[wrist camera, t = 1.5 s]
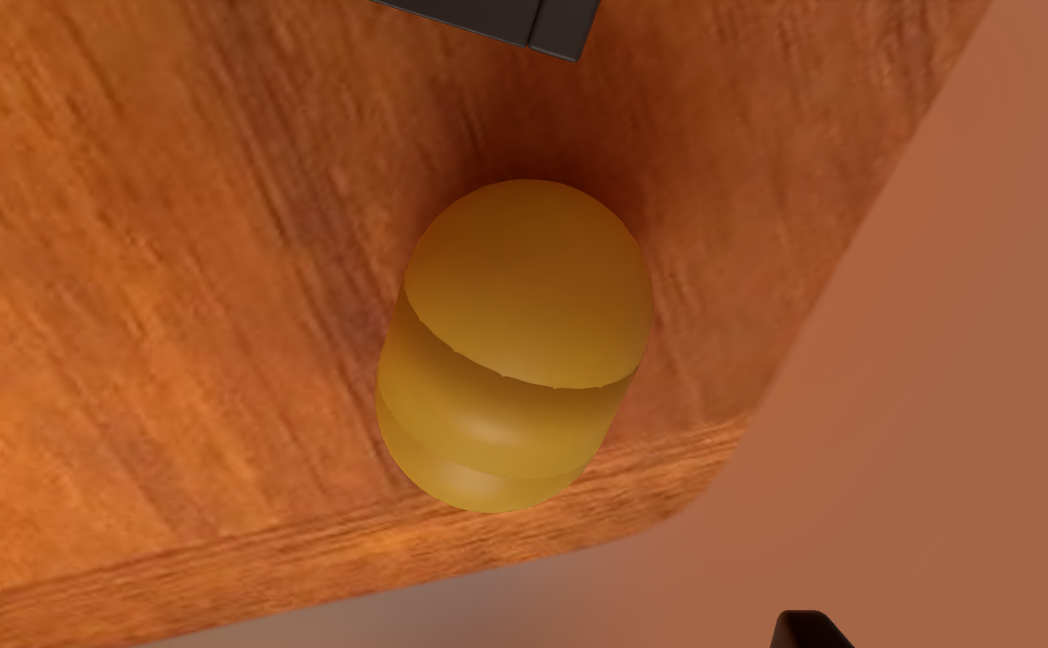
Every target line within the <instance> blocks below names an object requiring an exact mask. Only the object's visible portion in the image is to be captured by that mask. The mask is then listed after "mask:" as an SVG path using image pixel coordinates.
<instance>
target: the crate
mask: <svg viewBox="0 0 1048 648" xmlns="http://www.w3.org/2000/svg"><path fill="white" fill-rule="evenodd" d="M370 1H373V2H376V3H380V4H383V5H386V6H389V7H392V8H396V9H399V10H402V11H405V12H409V13H412V14H415V15H418V16H421V17H425V18H428V19H431V20H434V21H437V22H441V23H444V24H447V25H450V26H453V27H457V28H460V29H463V30H466V31H469V32H473V33H476V34H479V35H482V36H486V37H489V38H492V39H495V40H498V41H502V42H505V43H508V44H511V45H514V46H518V47H521V48H525V47H526V46H527V43H528V47H529V48H530V49H531V50H533V51H537V52H540V53H543V54H546V55H549V56H553V57H556V58H559V59H562V60H565V61H569V62H577V61H578V60H579V59H580V57H581V54H582V51H583V49H584V46H585V43H586V40H587V37H588V35H589V32H590V29H591V26H592V23H593V21H594V18H595V15H596V12H597V9H598V7H599V4H600V1H601V0H370Z"/></svg>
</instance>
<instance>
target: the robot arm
mask: <svg viewBox="0 0 1048 648" xmlns="http://www.w3.org/2000/svg"><path fill="white" fill-rule="evenodd" d="M770 648H854V646H853V645H852V644H851V643H850V642H849V641H848V639H847V638H846V637H845V636H844V635H843V634H842V633H841V631H840V630H839V629H838V628H837V627H836V626H835V625H834V623H833V622H832V621H831V620H830V619H829V618H828V617H827V616H826V615H825V614H823V613H822V612H820V611H815V610H787V611H783V612H782V613H781V614H780V615H779V617H778V619H777V622H776V626H775V630H774V634H773V638H772V642H771V646H770Z"/></svg>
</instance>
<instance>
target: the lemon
mask: <svg viewBox="0 0 1048 648" xmlns="http://www.w3.org/2000/svg"><path fill="white" fill-rule="evenodd" d="M653 310H654V305H653V293H652V285H651V277H650V273H649V271H648V268H647V265H646V263H645V260H644V257H643V255H642V252H641V250H640V247H639V245H638V244H637V242H636V241H635V239H634V238H633V236H632V235H631V234H630V232H629V231H628V229H627V228H626V226H625V225H624V224H623V222H622V221H621V220H620V219H619V218H618V217H617V216H616V215H615V214H614V213H613V212H612V211H610V210H609V209H608V208H607V207H605V206H604V205H603V204H601V203H600V202H599V201H598V200H596V199H595V198H593V197H591V196H590V195H588V194H586V193H584V192H582V191H581V190H578V189H576V188H573V187H571V186H568V185H565V184H562V183H557V182H553V181H546V180H535V179H514V180H508V181H503V182H499V183H495V184H491V185H487V186H483V187H481V188H479V189H477V190H475V191H473V192H471V193H469V194H467V195H465V196H464V197H462V198H460V199H458V200H456V201H455V202H453V203H452V204H451V205H450V206H449V207H447V208H446V209H445V210H444V211H443V212H442V213H441V214H439V215H438V216H437V217H436V218H435V220H434V221H433V222H432V223H431V224H430V225H429V226H428V228H427V229H426V231H425V232H424V233H423V235H422V236H421V238H420V239H419V240H418V242H417V244H416V246H415V249H414V251H413V253H412V256H411V258H410V260H409V263H408V265H407V267H406V270H405V273H404V277H403V280H402V284H401V287H400V291H399V294H398V298H397V301H396V304H395V308H394V311H393V315H392V318H391V322H390V325H389V329H388V332H387V336H386V339H385V343H384V346H383V349H382V353H381V356H380V360H379V363H378V368H377V374H376V381H375V407H376V416H377V420H378V424H379V428H380V431H381V434H382V436H383V439H384V441H385V444H386V446H387V448H388V450H389V452H390V454H391V456H392V457H393V459H394V461H395V462H396V463H397V464H398V465H399V467H400V468H401V469H402V470H403V472H404V473H405V474H406V475H407V476H408V477H409V478H410V479H411V480H412V481H413V482H414V483H415V484H416V485H417V486H418V487H420V488H421V489H422V490H423V491H425V492H426V493H428V494H429V495H431V496H433V497H434V498H436V499H438V500H440V501H442V502H444V503H446V504H449V505H451V506H454V507H457V508H461V509H464V510H467V511H474V512H481V513H502V512H510V511H516V510H521V509H526V508H529V507H531V506H534V505H536V504H539V503H541V502H543V501H545V500H547V499H549V498H551V497H553V496H555V495H557V494H558V493H559V492H561V491H562V490H563V489H565V488H566V487H568V486H569V485H570V484H571V483H572V482H573V481H574V480H575V479H576V478H577V477H579V476H580V475H581V473H582V472H583V471H584V469H585V468H586V467H587V466H588V464H589V463H590V461H591V460H592V458H593V457H594V455H595V454H596V452H597V450H598V449H599V447H600V445H601V443H602V441H603V439H604V437H605V435H606V433H607V431H608V429H609V427H610V425H611V422H612V420H613V418H614V416H615V414H616V412H617V410H618V408H619V406H620V404H621V402H622V400H623V398H624V395H625V393H626V391H627V389H628V387H629V385H630V383H631V381H632V379H633V377H634V375H635V373H636V371H637V368H638V366H639V364H640V362H641V360H642V357H643V355H644V351H645V348H646V345H647V342H648V339H649V336H650V333H651V329H652V320H653Z"/></svg>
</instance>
